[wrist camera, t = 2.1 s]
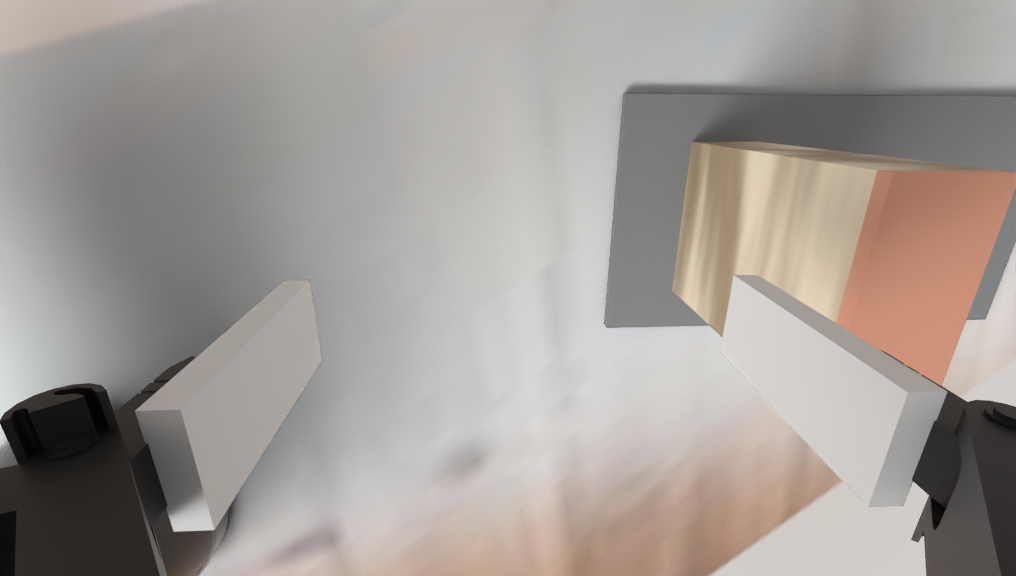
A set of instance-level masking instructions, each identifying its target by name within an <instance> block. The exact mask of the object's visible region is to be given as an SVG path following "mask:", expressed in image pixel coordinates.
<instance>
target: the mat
mask: <svg viewBox="0 0 1016 576" xmlns="http://www.w3.org/2000/svg"><path fill="white" fill-rule="evenodd" d="M692 142H766V143H775V144H783V145H792V146H800V147H809V148H817V149H826V150H834V151H842V152H851V153H859V154H868V155H876V156H885V157H893V158H902V159H910V160H919V161H927V162H936V163H944V164H952V165H961V166H969V167H978V168H986V169H995V170H1003V171H1012V172H1016V96H902V95H762V94H623V104H622V116H621V128H620V140H619V152H618V164H617V176H616V188H615V200H614V212H613V224H612V236H611V248H610V260H609V273H608V285H607V297H606V309H605V321H604V324H605V326H606V328H617V327H662V326H708V325H709V324H707V323H706V322H705V321H704V320H703V319H702V318H701V317H700V316H699V315H698V314H697V313H696V312H695V311H694V310H692V309H691V308H690V307H689V306H688V305H687V304H686V303H685V302H684V301H683V300H682V299H681V298H680V297H679V296H677V295H676V294H675V293H674V292H673V291H672V287H673V280H674V272H675V265H676V257H677V250H678V242H679V235H680V228H681V220H682V213H683V205H684V198H685V190H686V183H687V175H688V168H689V160H690V153H691V146H692ZM1015 242H1016V188H1015V191H1014V193H1013V196H1012V199H1011V201H1010V204H1009V207H1008V210H1007V212H1006V215H1005V218H1004V220H1003V223H1002V226H1001V228H1000V231H999V234H998V236H997V239H996V242H995V244H994V247H993V250H992V252H991V255H990V258H989V260H988V263H987V266H986V268H985V271H984V274H983V276H982V279H981V282H980V284H979V287H978V290H977V292H976V295H975V298H974V300H973V303H972V306H971V309H970V311H969V314H968V317H967V319H966V320H982V319H986V316H987V314H988V311H989V309H990V306H991V304H992V301H993V298H994V296H995V293H996V291H997V288H998V286H999V283H1000V280H1001V278H1002V275H1003V273H1004V270H1005V268H1006V265H1007V262H1008V260H1009V257H1010V255H1011V252H1012V250H1013V247H1014V244H1015Z"/></svg>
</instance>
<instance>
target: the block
mask: <svg viewBox="0 0 1016 576" xmlns="http://www.w3.org/2000/svg"><path fill="white" fill-rule="evenodd" d="M1015 188H1016V172H1012V171H1003V170H995V169H986V168H978V167H969V166H961V165H952V164H944V163H936V162H927V161H919V160H910V159H902V158H893V157H885V156H876V155H868V154H859V153H851V152H842V151H834V150H826V149H817V148H809V147H800V146H792V145H783V144H775V143H766V142H692V146H691V153H690V160H689V168H688V175H687V183H686V190H685V198H684V205H683V213H682V220H681V228H680V235H679V242H678V250H677V257H676V265H675V272H674V280H673V287H672V291H673V292H674V293H675V294H676V295H677V296H679V297H680V298H681V299H682V300H683V301H684V302H685V303H686V304H687V305H688V306H689V307H690V308H691V309H692V310H694V311H695V312H696V313H697V314H698V315H699V316H700V317H701V318H702V319H703V320H704V321H705V322H706V323H707V324H709V325H710V326H711V327H712V328H713V329H714V330H715V331H716V332H717V333H718V334H719V335H720V336H721V337H723V332H724V326H725V321H726V315H727V310H728V304H729V299H730V293H731V288H732V282H733V277H734V275H758V276H760V277H762V278H763V279H765V280H766V281H768V282H770V283H771V284H773V285H775V286H776V287H778V288H779V289H781V290H783V291H784V292H786V293H788V294H789V295H791V296H793V297H794V298H796V299H797V300H799V301H801V302H802V303H804V304H806V305H807V306H809V307H810V308H812V309H814V310H815V311H817V312H819V313H820V314H822V315H823V316H825V317H827V318H828V319H830V320H832V321H833V322H835V323H837V324H838V325H840V326H841V327H843V328H845V329H846V330H848V331H850V332H851V333H853V334H854V335H856V336H858V337H859V338H861V339H863V340H864V341H866V342H867V343H869V344H871V345H872V346H874V347H876V348H877V349H879V350H881V351H884V352H886V353H888V354H889V355H891V356H893V357H894V358H896V359H898V360H899V361H901V362H903V363H904V365H905V366H909V367H911V368H912V369H914V370H916V371H917V372H919V374H920V375H924V376H926V377H927V378H929V379H930V380H932V381H934V382H935V383H937V384H939V385H940V386H942V383H943V381H944V378H945V375H946V373H947V370H948V367H949V365H950V362H951V359H952V357H953V354H954V351H955V349H956V346H957V343H958V341H959V338H960V335H961V333H962V330H963V327H964V325H965V322H966V319H967V317H968V314H969V311H970V309H971V306H972V303H973V300H974V298H975V295H976V292H977V290H978V287H979V284H980V282H981V279H982V276H983V274H984V271H985V268H986V266H987V263H988V260H989V258H990V255H991V252H992V250H993V247H994V244H995V242H996V239H997V236H998V234H999V231H1000V228H1001V226H1002V223H1003V220H1004V218H1005V215H1006V212H1007V210H1008V207H1009V204H1010V201H1011V199H1012V196H1013V193H1014V191H1015Z"/></svg>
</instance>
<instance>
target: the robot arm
mask: <svg viewBox="0 0 1016 576" xmlns="http://www.w3.org/2000/svg"><path fill="white" fill-rule="evenodd" d="M720 354H721V355H722V356H723V357H724V358H725V359H726V360H727V361H728V362H729V363H730V364H731V365H732V366H733V367H734V368H735V369H736V370H737V371H738V372H739V373H740V374H741V376H742V377H743V378H744V379H745V380H746V381H747V382H748V383H749V384H750V385H751V386H752V387H753V388H754V389H755V390H756V391H757V392H758V393H759V394H760V395H761V396H762V397H763V398H764V399H765V401H766V402H767V403H768V404H769V405H770V406H771V407H772V408H773V409H774V410H775V411H776V412H777V413H778V414H779V415H780V416H781V417H782V418H783V419H784V420H785V421H786V422H787V423H788V424H789V425H790V427H791V428H792V429H793V430H794V431H795V432H796V433H797V434H798V435H799V436H800V437H801V438H802V439H803V440H804V441H805V442H806V443H807V444H808V445H809V446H810V447H811V448H812V449H813V450H814V452H815V453H816V454H817V455H818V456H819V457H820V458H821V459H822V460H823V461H824V462H825V463H826V464H827V465H828V466H829V467H830V468H831V469H832V470H833V471H834V472H835V473H836V474H837V475H838V476H839V478H840V479H841V480H842V481H843V482H844V483H845V484H846V485H847V486H848V487H849V488H850V489H851V490H852V491H853V492H854V493H855V494H856V495H857V496H858V497H859V498H860V499H861V500H862V501H863V503H864V504H865V505H866V506H867V507H886V506H904V504H905V501H906V498H907V496H908V493H909V491H910V488H911V486H912V483H913V481H914V482H915V483H916V484H917V485H918V486H919V487H920V488H922V489H923V490H924V491H925V492H926V493H927V494H929V497H928V500H927V502H926V505H925V507H924V509H923V512H922V514H921V517H920V519H919V522H918V524H917V527H916V529H915V532H914V534H913V537H912V540H913V541H916V542H919V540H920V538H921V536H924V541H925V558H926V575H927V576H1016V407H1014V406H1010V405H1007V404H1003V403H997V402H993V401H983V400H974V401H970V402H967V401H965V400H963V399H962V398H960V397H958V396H957V395H955V394H953V393H952V392H950V391H949V390H947V389H945V388H944V387H942V386H940V385H939V384H937V383H935V382H934V381H932V380H930V379H929V378H927V377H926V376H924V375H920V374H919V372H917V371H916V370H914V369H912V368H911V367H909V366H905V365H904V363H903V362H901V361H899V360H898V359H896V358H894V357H893V356H891V355H889V354H888V353H886V352H884V351H881V350H879V349H877V348H876V347H874V346H872V345H871V344H869V343H867V342H866V341H864V340H863V339H861V338H859V337H858V336H856V335H854V334H853V333H851V332H850V331H848V330H846V329H845V328H843V327H841V326H840V325H838V324H837V323H835V322H833V321H832V320H830V319H828V318H827V317H825V316H823V315H822V314H820V313H819V312H817V311H815V310H814V309H812V308H810V307H809V306H807V305H806V304H804V303H802V302H801V301H799V300H797V299H796V298H794V297H793V296H791V295H789V294H788V293H786V292H784V291H783V290H781V289H779V288H778V287H776V286H775V285H773V284H771V283H770V282H768V281H766V280H765V279H763V278H762V277H760V276H758V275H734V277H733V282H732V288H731V293H730V299H729V304H728V310H727V315H726V321H725V326H724V332H723V337H722V343H721V348H720ZM321 362H322V355H321V349H320V342H319V335H318V329H317V322H316V315H315V309H314V302H313V295H312V289H311V282H310V280H284V281H283V282H282V283H281V284H280V285H278V286H277V287H276V288H275V289H274V290H273V291H272V292H270V293H269V294H268V295H267V296H266V297H265V298H264V299H262V300H261V301H260V302H259V303H258V304H257V305H256V306H254V307H253V308H252V309H251V310H250V311H249V312H248V313H246V314H245V315H244V316H243V317H242V318H241V319H240V320H238V321H237V322H236V323H235V324H234V325H233V326H231V327H230V328H229V329H228V330H227V331H226V332H225V333H223V334H222V335H221V336H220V337H219V338H218V339H217V340H215V341H214V342H213V343H212V344H211V345H210V346H209V347H207V348H206V349H205V350H204V351H203V352H202V353H201V354H199V355H198V356H197V357H190V358H188V359H186V360H184V361H182V362H180V363H178V364H176V365H174V366H172V367H170V368H168V369H167V370H166V371H165V372H164V373H162V374H161V375H160V376H159V377H157V378H156V379H155V380H154V383H150V384H149V385H148V386H147V387H145V388H144V389H143V390H142V391H141V394H137V395H136V396H135V397H133V398H132V399H131V400H130V401H129V402H127V403H126V404H125V405H124V406H123V407H121V408H120V409H119V410H118V411H117V412H115V413H114V412H113V409H112V406H111V403H110V400H109V397H108V395H107V392H106V390H105V389H104V388H103V387H102V386H101V385H96V384H90V383H89V384H75V385H69V386H65V387H60V388H55V389H52V390H49V391H46V392H43V393H40V394H37V395H34V396H32V397H30V398H28V399H26V400H24V401H22V402H20V403H18V404H16V405H15V406H13V407H12V408H11V409H9V410H8V411H7V412H5V413H4V415H3V416H2V418H1V420H0V424H1V426H2V429H3V431H4V433H5V436H6V438H7V440H8V441H7V442H6V443H5V444H3V445H2V446H0V576H199V575H200V574H201V573H202V571H203V570H204V569H205V567H206V566H207V565H208V563H209V561H210V560H211V558H212V556H213V555H214V553H215V551H216V549H217V548H218V546H219V544H220V543H221V541H222V539H223V537H224V535H225V532H226V529H227V525H228V519H229V506H230V505H231V503H232V502H233V500H234V499H235V497H236V495H237V494H238V492H239V491H240V489H241V488H242V486H243V484H244V483H245V481H246V480H247V478H248V477H249V475H250V473H251V472H252V470H253V469H254V467H255V466H256V464H257V462H258V461H259V459H260V458H261V456H262V454H263V453H264V451H265V450H266V448H267V447H268V445H269V443H270V442H271V440H272V439H273V437H274V436H275V434H276V432H277V431H278V429H279V428H280V426H281V425H282V423H283V421H284V420H285V418H286V417H287V415H288V414H289V412H290V410H291V409H292V407H293V406H294V404H295V403H296V401H297V399H298V398H299V396H300V395H301V393H302V391H303V390H304V388H305V387H306V385H307V384H308V382H309V380H310V379H311V377H312V376H313V374H314V373H315V371H316V369H317V368H318V366H319V365H320V363H321Z"/></svg>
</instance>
